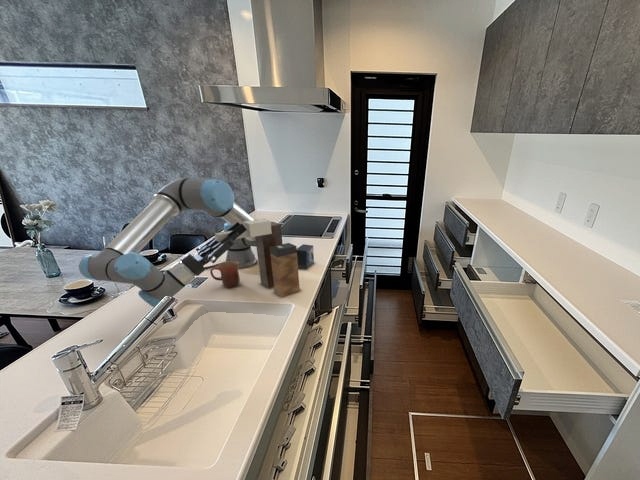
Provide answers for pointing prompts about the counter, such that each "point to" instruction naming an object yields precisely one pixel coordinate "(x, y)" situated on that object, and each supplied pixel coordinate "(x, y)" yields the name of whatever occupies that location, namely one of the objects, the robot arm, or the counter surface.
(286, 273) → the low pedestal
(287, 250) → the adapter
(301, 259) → the small box
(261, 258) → the tall pedestal
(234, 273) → the mug
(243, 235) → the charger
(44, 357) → the counter surface
